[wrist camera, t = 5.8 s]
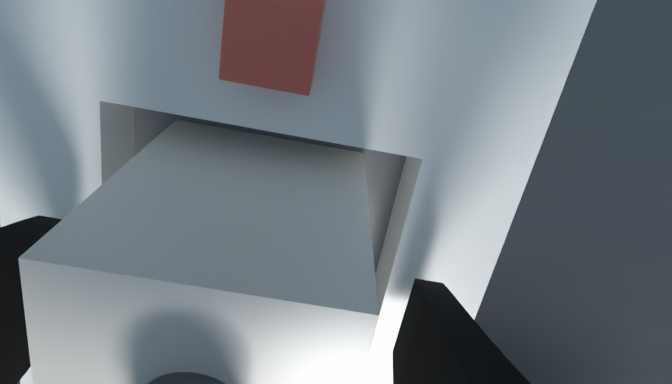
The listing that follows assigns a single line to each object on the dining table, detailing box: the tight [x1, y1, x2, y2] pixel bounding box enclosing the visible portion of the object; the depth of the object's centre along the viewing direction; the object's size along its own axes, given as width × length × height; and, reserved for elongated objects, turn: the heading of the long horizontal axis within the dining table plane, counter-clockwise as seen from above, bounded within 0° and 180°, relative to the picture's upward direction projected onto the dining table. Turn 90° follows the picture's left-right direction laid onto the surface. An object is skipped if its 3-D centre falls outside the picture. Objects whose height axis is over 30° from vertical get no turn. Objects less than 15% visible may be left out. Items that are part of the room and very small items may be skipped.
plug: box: [18, 120, 379, 384], centre depth 9 cm, size 4×4×7 cm
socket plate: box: [0, 0, 597, 384], centre depth 12 cm, size 11×15×3 cm
